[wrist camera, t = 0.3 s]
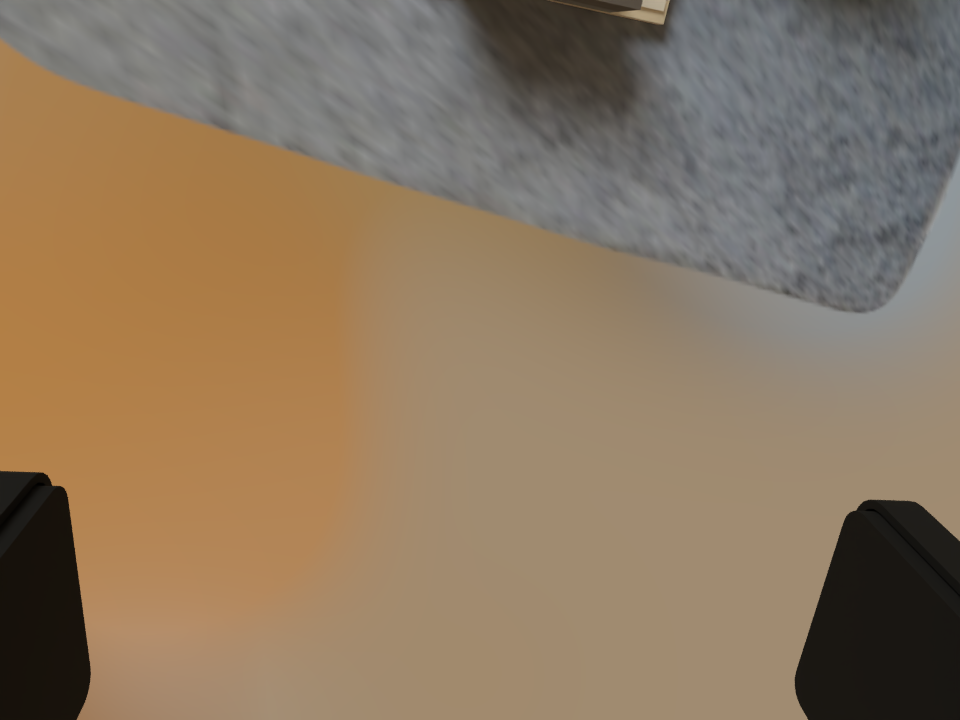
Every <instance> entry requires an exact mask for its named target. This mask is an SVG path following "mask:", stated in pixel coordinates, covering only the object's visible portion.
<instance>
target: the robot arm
mask: <svg viewBox="0 0 960 720" xmlns="http://www.w3.org/2000/svg"><path fill="white" fill-rule="evenodd" d="M90 675H91V672H90V661H89V653H88V646H87V638H86V631H85V623H84V617H83V608H82V600H81V594H80V585H79V579H78V571H77V563H76V555H75V548H74V541H73V533H72V525H71V518H70V510H69V503H68V497H67V493H66V491H65V489H64V488H63V487H61V486H52V484H51V481H50V479H49V477H48V475H46V474H44V473H39V472H38V473H37V472H8V471H0V720H77V717H78V715H79V713H80V711H81V709H82V707H83V705H84V703H85V700H86V697H87V694H88V690H89V685H90ZM795 689H796V695H797V699H798V701H799V704H800V706H801V707H802V709H803V711H804V713H805V715H806V716H807V718H808V720H960V541H959V540H958V539H957V538H956V537H954V536H953V535H952V534H951V533H950V532H949V531H948V530H947V529H946V528H945V527H944V526H943V525H942V524H940V523H939V522H938V521H937V520H936V519H935V518H934V517H933V516H932V515H931V514H930V513H928V512H927V510H925V509H924V508H923V507H922V506H920V505H919V504H918V503H916V502H911V501H894V500H893V501H891V500H867V501H864V502H863V503H862V504H861V505H860V506H859V507H858V508H857V510H856V511H853V512H850V513H849V514H848V515H847V516H846V518H845V520H844V523H843V526H842V529H841V532H840V535H839V538H838V542H837V545H836V548H835V551H834V554H833V557H832V560H831V564H830V567H829V570H828V573H827V576H826V579H825V582H824V586H823V589H822V592H821V595H820V598H819V602H818V605H817V608H816V611H815V614H814V617H813V620H812V623H811V626H810V630H809V633H808V636H807V639H806V642H805V645H804V648H803V652H802V655H801V658H800V661H799V664H798V667H797V671H796V675H795Z"/></svg>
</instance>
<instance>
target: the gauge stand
mask: <svg viewBox="0 0 960 720" xmlns="http://www.w3.org/2000/svg"><path fill="white" fill-rule="evenodd" d="M547 1H551V2H556V3H560V4H565V5H569V6H574V7H579V8H583V9H588V10H592V11H597V12H601V13H606V14H611V15H615V16H620V17H624V18H629V19H633V20H638V21H642V22H647V23H652V24H656V25H663V24H664V21H665V17H666V13H667V9H668V5H669V1H670V0H547Z"/></svg>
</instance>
